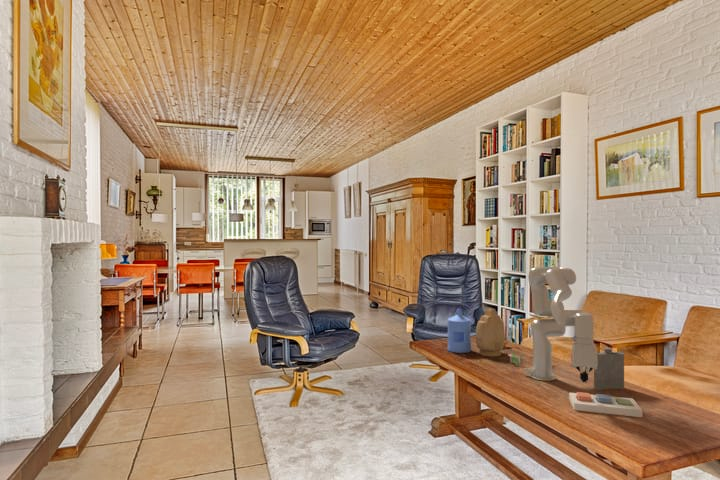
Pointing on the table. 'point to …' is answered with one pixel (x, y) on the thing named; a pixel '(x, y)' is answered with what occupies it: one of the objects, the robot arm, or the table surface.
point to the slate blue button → (603, 398)
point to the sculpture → (490, 333)
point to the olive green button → (624, 402)
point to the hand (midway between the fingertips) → (584, 381)
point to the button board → (606, 406)
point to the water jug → (459, 333)
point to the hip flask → (609, 370)
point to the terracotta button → (583, 396)
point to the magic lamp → (506, 341)
